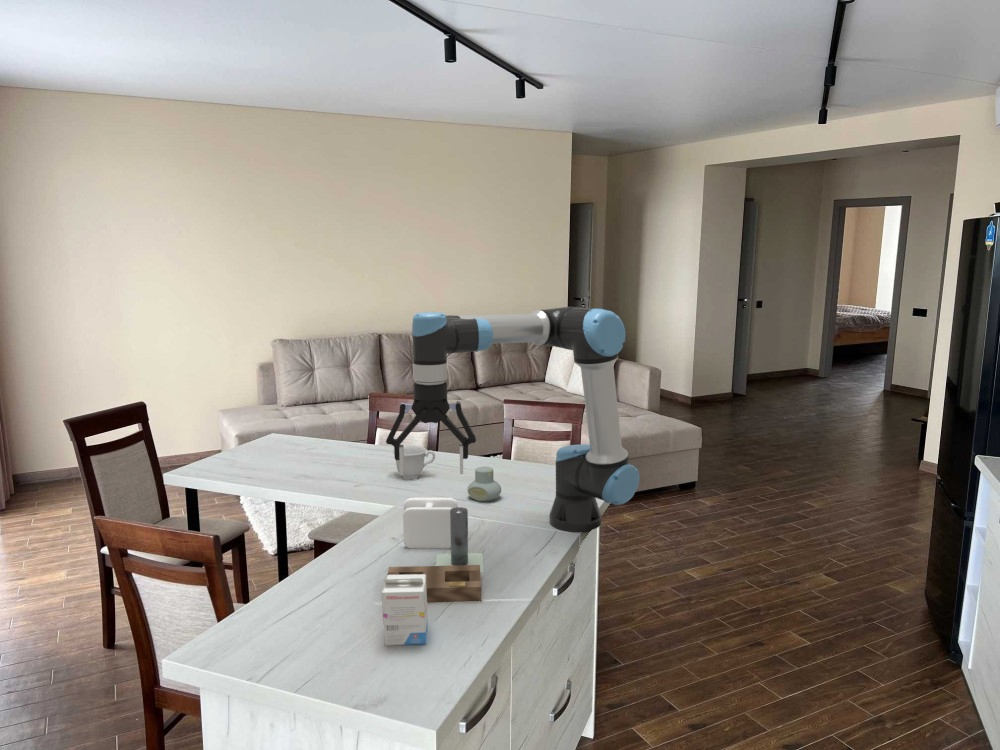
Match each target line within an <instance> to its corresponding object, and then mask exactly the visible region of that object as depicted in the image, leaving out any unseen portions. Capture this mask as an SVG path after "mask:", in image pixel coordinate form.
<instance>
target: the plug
mask: <svg viewBox="0 0 1000 750" xmlns="http://www.w3.org/2000/svg"><path fill="white" fill-rule="evenodd" d="M468 519H469V510H468V508H466V507H459V506H458V507H457V508H452V509H451V510H450V535H451V548H450V554H451V564H452V565H467V564H468V553H469V531H468V530H469V523H468V522H469V520H468Z"/></svg>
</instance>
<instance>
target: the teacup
mask: <svg viewBox="0 0 1000 750" xmlns="http://www.w3.org/2000/svg"><path fill="white" fill-rule="evenodd" d="M392 453H393V454H394V449H393V450H392ZM429 454H431V455H432V458H431V459H430V460H428V461H426V462H425V457H426V458H428V456H429ZM435 459H436V454H435V451H434V450H431V449H430V450H428V449H427V448H426V447H423V446H420V445H404V474H403V475H401V476H402V479H404V480H409V481H410V480H412V481H413V480H416V479H418V478H419V474H421V473H422V472H423V470H424V468H425V466H427V465H430V464H432V463H433V462H434V461H435ZM395 463H396V469H397V472H398V473H399V474H400V460H395Z"/></svg>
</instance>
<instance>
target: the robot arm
mask: <svg viewBox="0 0 1000 750" xmlns="http://www.w3.org/2000/svg"><path fill="white" fill-rule="evenodd" d="M411 324H412V325H411V327H412V329H411V337H412V338H411V339H412V360H413V361H412V362H413V363H412V372H413V373H412V374H413V375H412V376H413V377H412V380H413V381H414V383H413V403H406V402H405V401H402V402H401V403H400V405H399V412H398V415H397V417H396V419H395V421H394V423H393V425H392V427H391V430H390V432H389V433H388V436H387V438H386V440H385V443H386V444H387V445H391V446H393V448H394V449H393V450H394V453H393V455H394V460H395V461H396V460H400V473H399V476H403V474H404V446H405V445H404V444H403V442H404V441H405V440H406V438H407V437H408V436H409V435H410V433H411V432H412V431H413V429H415V428H416V426H417V425H418V424H420V422H422V423H423V424H428V423H429V424H430V423H433V424H438V423H440V422H442V423H443V425H444V426H446V427H447V429H449V431H450V432H451V433H452V434H453V435H454V436H455V437H456V438H457V440H458V441H459V442H460V443H459V475H464V460H467V459H469V445H471V444H475V443H476V442H477V439H476V438H477V437H476V435H475V433H474V431H473V430H472V426H470V424H469V422H468V420H467V418H466V416H465V414H464V412H463V411H462V403H461V402H460V401H459V400H458V401H456V402H455V403H454V402H453V403H449V401H448V383H447V382H446V381H447V380H448V379H447V378H448V367H447V366H448V363H447V358H448V354H449V355H450V354H457V353H458V354H459V353H471V352H475V353H477V352H480V351H486V350H488V349H489V348H490V347H491V346H492V345H493V344H494V345H495V344H515V343H516V344H517V343H519V344H520V343H532V344H533V345H535V346H548V347H553V348H554V347H555V348H559V349H560V348H561V349H565V350H569V351H572V353H573V361H574V364H576V365H577V367H580V371H581V372H580V373H581V380H582V381H581V382H582V388H583V396H584V397H583V399H584V406H585V416H586V423H587V432H588V440H589V444H581V443H580V444H571V445H565V446H562V447H560V448H558V449H557V451H556V459H555V461H554V462H555V498H554V500H553V503H552V506H551V509H550V512H549V523H550V524H549V525H550V526H553V527H555V528H556V529H559V530H561V531H567V532H587V531H592V530H595V529H597V528H600V527H601V525H602V515H601V511H600V508H599V504H598V502H597V499H598V500H601V501H603V502H604V503H607V504H612V505H615V506H620V505H621V506H622V505H623V504H625V503H628V502H629V501H630V500H631V499H633V497H634V495H635V493H636V492H637V490H638V488H639V484H640V472H639V469H638V468H637V467H636V466H634V465H633V464H630V458H629V457H630V456H629V452H628V450H627V449H625V448H624V447H623V446H622V436H621V426H620V416H619V407H618V397H617V387H616V378H615V368H614V364H615V362H616V361H617V360H618V358H619V353H620V352H621V350H622V349H623V347H624V345H623V344H624V343H625V342H626V329H625V325H624V323H623V321H622V319H621V318H620V316H619V315H617V314H616V313H615V312H613V311H611V310H607V309H604V308H593V307H579V306H564V307H563V306H562V307H555V308H547V309H535V310H533V311H532V312H531V313H509V314H507V313H506V314H505V313H504V314H503V313H502V314H501V313H500V314H499V313H497V314H496V313H495V314H463V315H462V314H457V315H453V314H452V315H447V314H446V313H443V312H435V311H434V312H433V311H432V312H428V311H427V312H426V311H424V312H423V311H422V312H418V313H415V314H414V315H413V317H412V323H411ZM449 410H451V411H452V412H453V413H455V414H456V415H457V418H458V420H459V421H460V424H461V425H462V427H463V429H464V431H465V433H466V435H467V437H466V436H465V435H464V433H463V432H462V431H461V430H460V428H458V427H457V426H456V424H455V423H453V421H452V420H451V419H450V417H449V416H448V415H447V413H448V412H449ZM409 411H412V412H413V413H414V415H415V416H414V417H413V418H412V419H411V421H410V422H409V423H408V425H407V426H406V427H405V428H404V429H403V430H402V432H401V433H400V434H399V435H398V436H397V438H395V435H396V433H397V432H398V430H399V427H400V425H401V423H402V422H403V419H404V417H405V414H408V413H409Z"/></svg>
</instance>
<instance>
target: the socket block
mask: <svg viewBox="0 0 1000 750" xmlns="http://www.w3.org/2000/svg"><path fill="white" fill-rule="evenodd" d="M413 574H426V589H427V604H428V603H430V604H431V603H432V604H433V603H434V604H435V603H465V602H466V603H467V602H468V603H469V602H482V578H481V577H482V576H481V575H482V573H480V565H452V566H436V565H422V566H420V565H418V566H388V570H387V574H386V576H387V575H413Z"/></svg>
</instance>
